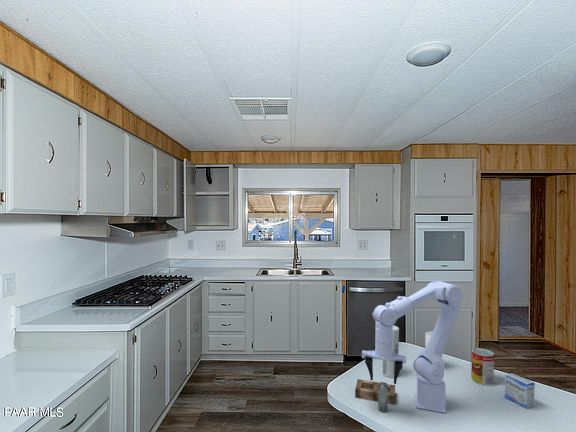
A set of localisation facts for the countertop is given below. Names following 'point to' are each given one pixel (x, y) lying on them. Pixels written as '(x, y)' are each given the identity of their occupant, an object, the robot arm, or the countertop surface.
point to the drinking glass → (427, 338)
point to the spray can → (390, 365)
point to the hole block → (373, 391)
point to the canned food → (482, 366)
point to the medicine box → (519, 390)
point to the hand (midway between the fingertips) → (383, 380)
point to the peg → (383, 397)
